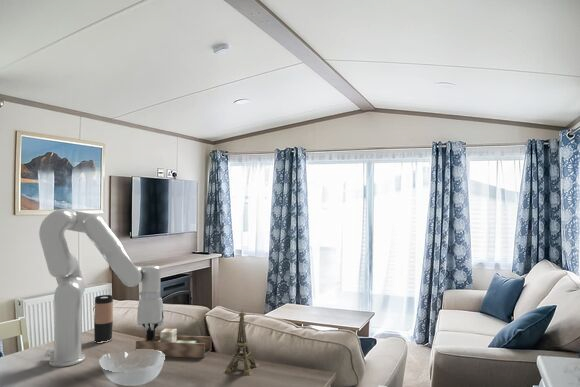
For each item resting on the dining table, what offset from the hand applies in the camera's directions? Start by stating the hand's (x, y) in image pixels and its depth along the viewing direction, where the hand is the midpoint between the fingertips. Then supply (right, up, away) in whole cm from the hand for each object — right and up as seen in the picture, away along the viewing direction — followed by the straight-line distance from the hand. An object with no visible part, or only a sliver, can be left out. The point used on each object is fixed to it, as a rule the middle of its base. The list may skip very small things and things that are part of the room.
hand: (150, 338), depth 171 cm
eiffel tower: (+41, -5, -19) cm, 45 cm away
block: (+8, -1, -1) cm, 8 cm away
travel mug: (-26, -6, +14) cm, 30 cm away
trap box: (+10, -5, -1) cm, 12 cm away
